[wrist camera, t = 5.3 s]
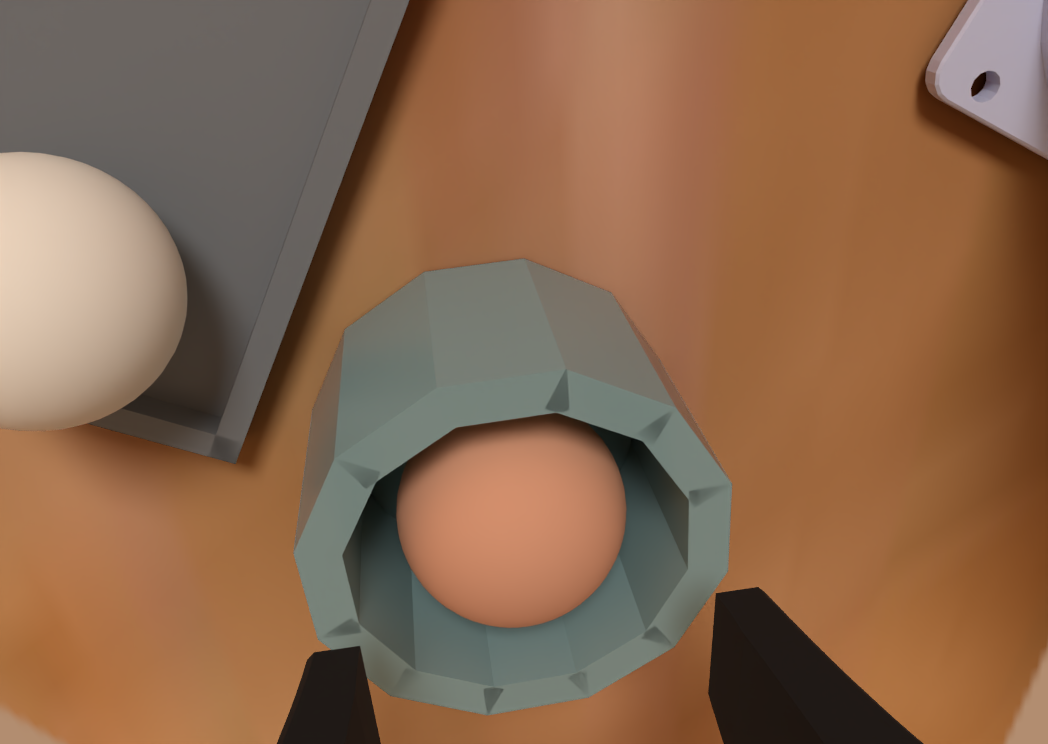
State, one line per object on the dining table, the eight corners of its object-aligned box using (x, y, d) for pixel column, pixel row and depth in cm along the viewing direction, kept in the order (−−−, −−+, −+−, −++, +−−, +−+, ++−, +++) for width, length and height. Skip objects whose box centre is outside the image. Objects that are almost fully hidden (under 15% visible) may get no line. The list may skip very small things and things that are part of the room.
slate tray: (493, -236, 12) (500, -244, 11) (241, 437, 17) (235, 463, 16) (-61, -562, 10) (-98, -599, 9) (-172, 319, 15) (-204, 344, 14)
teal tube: (720, 334, 17) (810, 454, 14) (568, 584, 20) (609, 739, 16) (394, 207, 15) (398, 310, 11) (272, 507, 18) (244, 667, 14)
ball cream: (237, 180, 14) (191, 276, 11) (173, 379, 16) (115, 518, 12) (-33, 79, 13) (-184, 150, 9) (-73, 306, 14) (-214, 438, 11)
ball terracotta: (592, 340, 16) (657, 463, 13) (598, 509, 18) (655, 655, 15) (376, 371, 16) (383, 508, 12) (407, 541, 18) (419, 699, 14)
